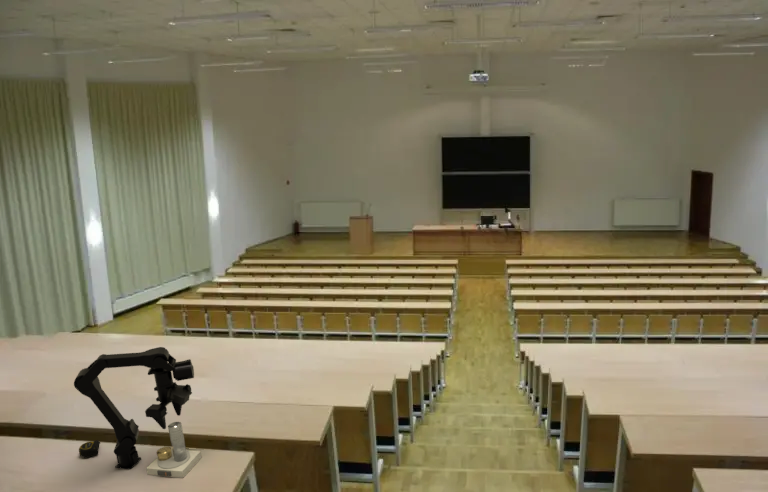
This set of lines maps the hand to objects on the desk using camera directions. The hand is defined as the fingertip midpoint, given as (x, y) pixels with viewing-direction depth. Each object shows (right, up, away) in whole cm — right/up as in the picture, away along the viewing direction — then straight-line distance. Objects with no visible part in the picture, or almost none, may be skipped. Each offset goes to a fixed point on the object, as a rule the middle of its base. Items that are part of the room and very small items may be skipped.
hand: (171, 421), depth 214 cm
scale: (+3, -14, -4) cm, 15 cm away
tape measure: (-33, -14, +8) cm, 37 cm away
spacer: (+5, -11, -6) cm, 14 cm away
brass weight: (-1, -11, -4) cm, 12 cm away
